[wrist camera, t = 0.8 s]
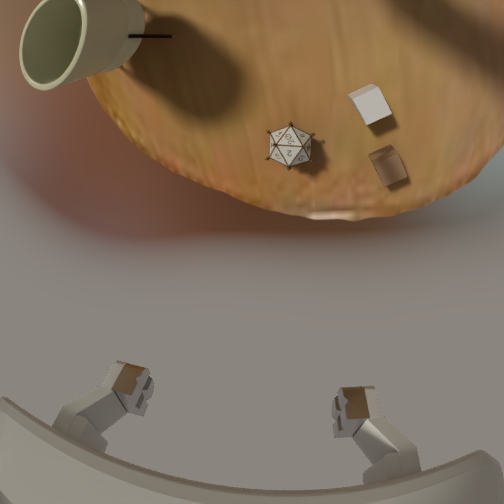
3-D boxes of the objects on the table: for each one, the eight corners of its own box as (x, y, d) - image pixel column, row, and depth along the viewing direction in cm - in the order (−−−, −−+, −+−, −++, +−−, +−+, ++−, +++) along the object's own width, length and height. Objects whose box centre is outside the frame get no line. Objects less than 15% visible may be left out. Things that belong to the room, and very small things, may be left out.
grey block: (371, 83, 36) (378, 87, 33) (383, 107, 39) (392, 113, 35) (347, 94, 39) (352, 99, 35) (360, 118, 41) (366, 125, 37)
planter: (93, 42, 35) (7, 62, 18) (140, -14, 27) (54, -25, 10) (132, 82, 42) (48, 114, 25) (186, 26, 34) (107, 19, 17)
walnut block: (390, 144, 43) (398, 153, 39) (399, 165, 45) (407, 176, 41) (368, 154, 45) (374, 164, 42) (378, 175, 48) (384, 187, 44)
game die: (281, 132, 49) (247, 127, 42) (318, 119, 44) (287, 110, 37) (291, 175, 51) (258, 177, 44) (330, 166, 45) (301, 165, 38)
